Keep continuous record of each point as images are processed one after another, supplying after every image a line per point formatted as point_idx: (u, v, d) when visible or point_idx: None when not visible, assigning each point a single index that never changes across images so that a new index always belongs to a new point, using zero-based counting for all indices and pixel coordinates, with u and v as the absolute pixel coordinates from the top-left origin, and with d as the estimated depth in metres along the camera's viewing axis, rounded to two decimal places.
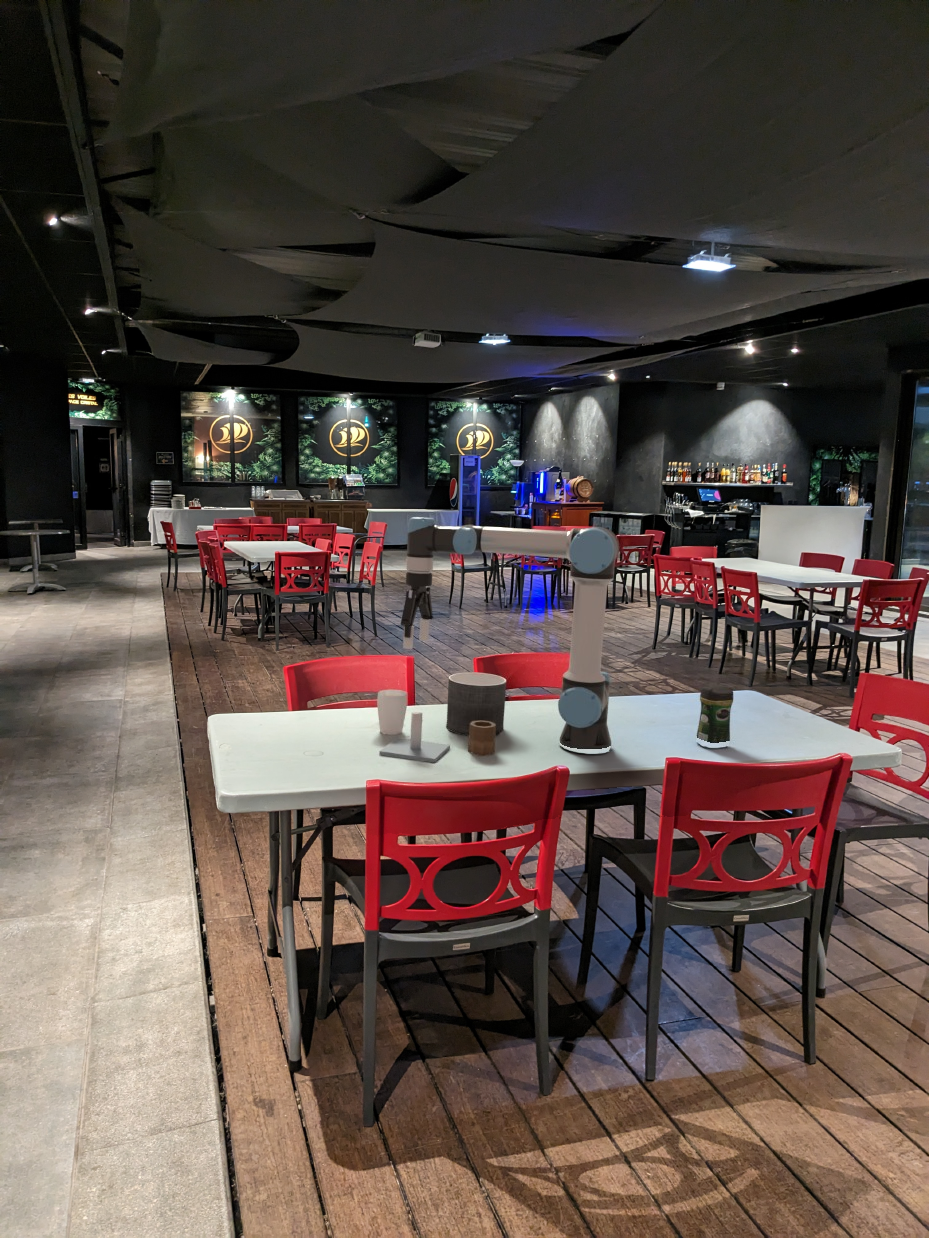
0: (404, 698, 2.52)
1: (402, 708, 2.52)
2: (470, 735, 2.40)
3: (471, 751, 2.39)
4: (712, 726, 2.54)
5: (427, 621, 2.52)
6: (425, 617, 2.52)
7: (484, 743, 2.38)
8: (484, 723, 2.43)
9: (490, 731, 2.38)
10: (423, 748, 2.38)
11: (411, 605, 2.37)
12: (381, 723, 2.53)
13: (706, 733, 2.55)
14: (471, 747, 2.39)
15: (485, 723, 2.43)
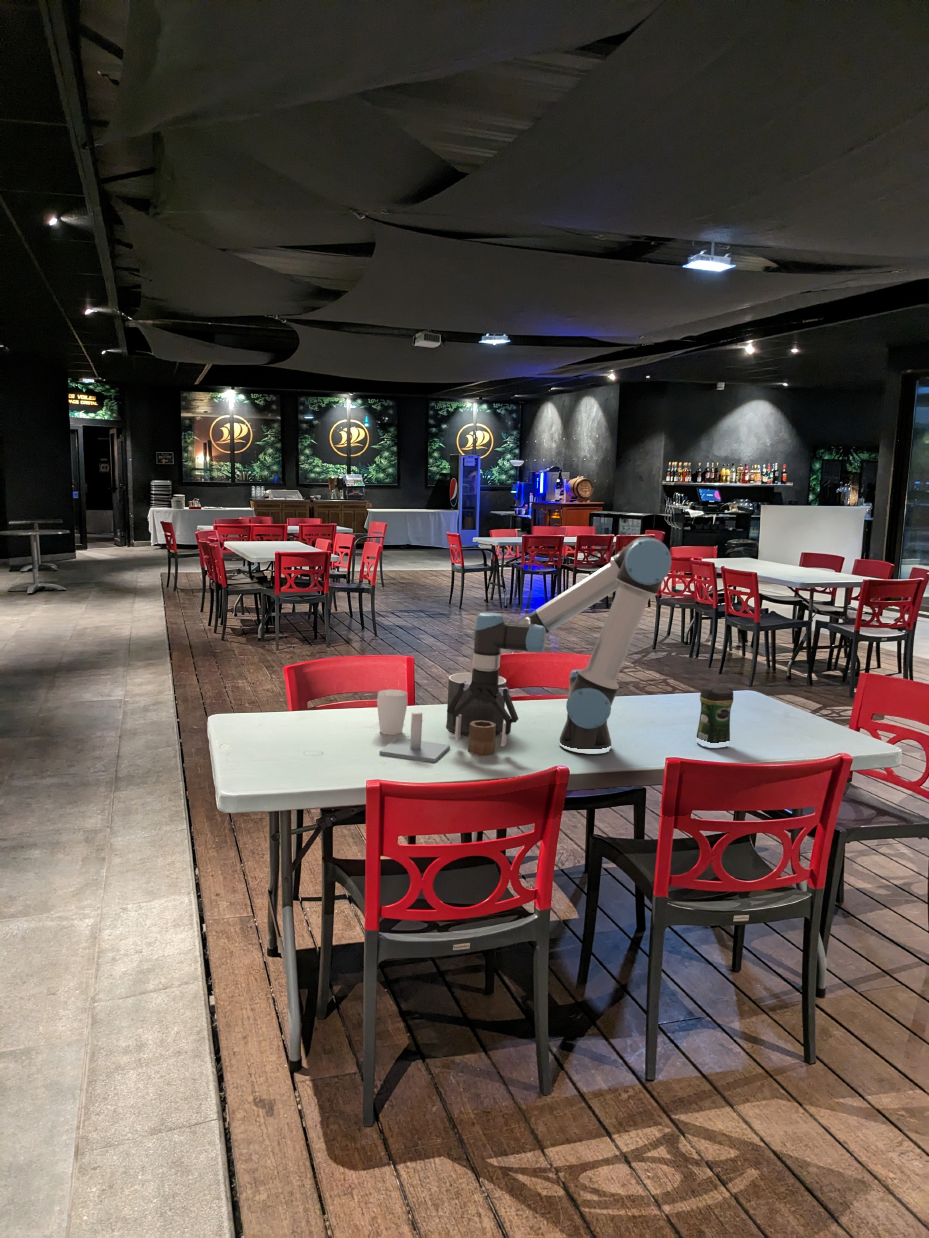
0: (404, 698, 2.52)
1: (402, 708, 2.52)
2: (470, 735, 2.40)
3: (471, 751, 2.39)
4: (712, 726, 2.54)
5: (503, 724, 2.38)
6: None
7: (484, 743, 2.38)
8: (484, 723, 2.43)
9: (490, 731, 2.38)
10: (423, 748, 2.38)
11: None
12: (381, 723, 2.53)
13: (706, 733, 2.55)
14: (471, 747, 2.39)
15: (485, 723, 2.43)
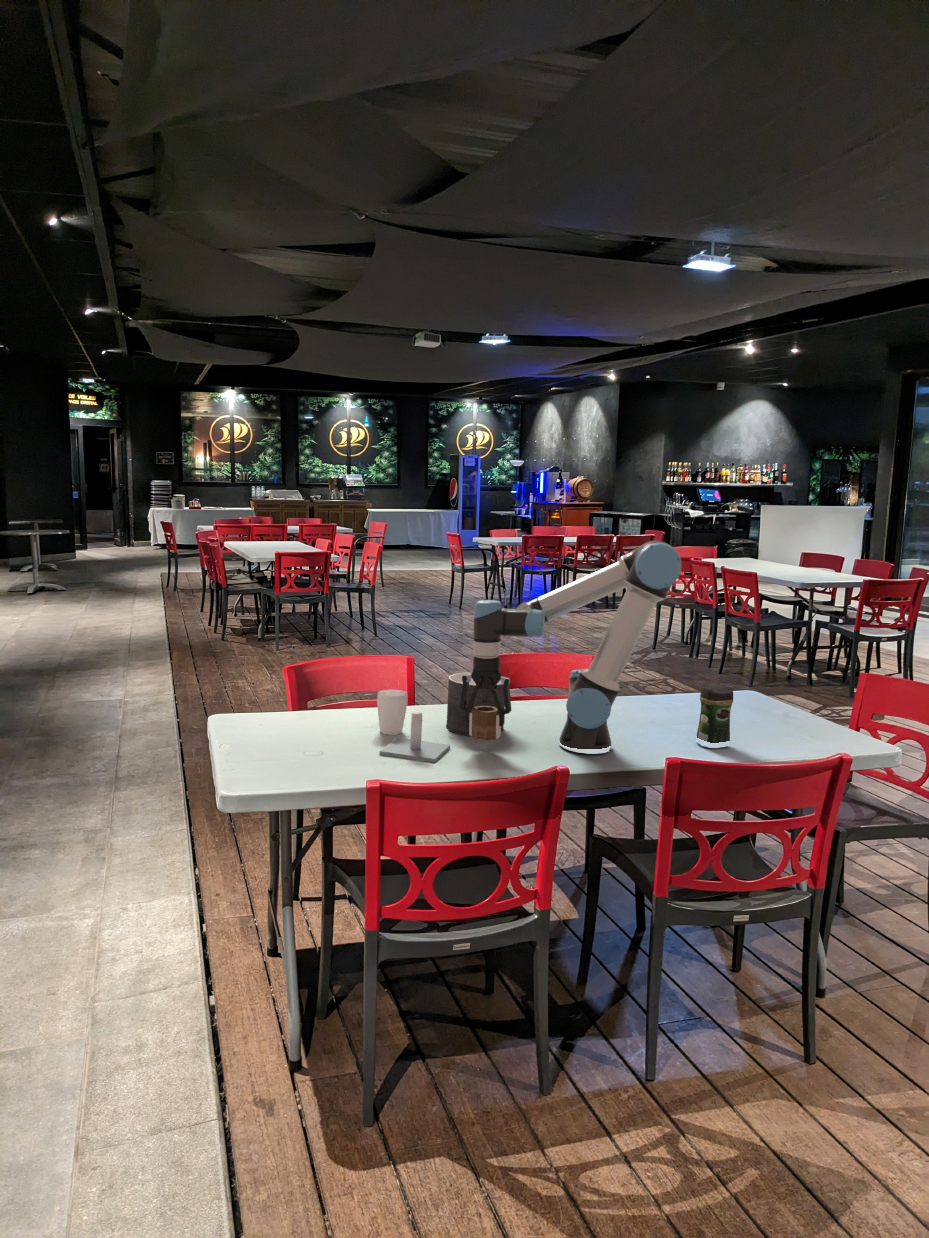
0: (404, 698, 2.52)
1: (402, 708, 2.52)
2: (473, 720, 2.39)
3: (475, 736, 2.39)
4: (712, 726, 2.54)
5: None
6: None
7: (488, 727, 2.37)
8: (487, 708, 2.42)
9: (493, 716, 2.37)
10: (423, 748, 2.38)
11: (462, 690, 2.40)
12: (381, 723, 2.53)
13: (706, 733, 2.55)
14: (474, 732, 2.39)
15: (488, 708, 2.42)
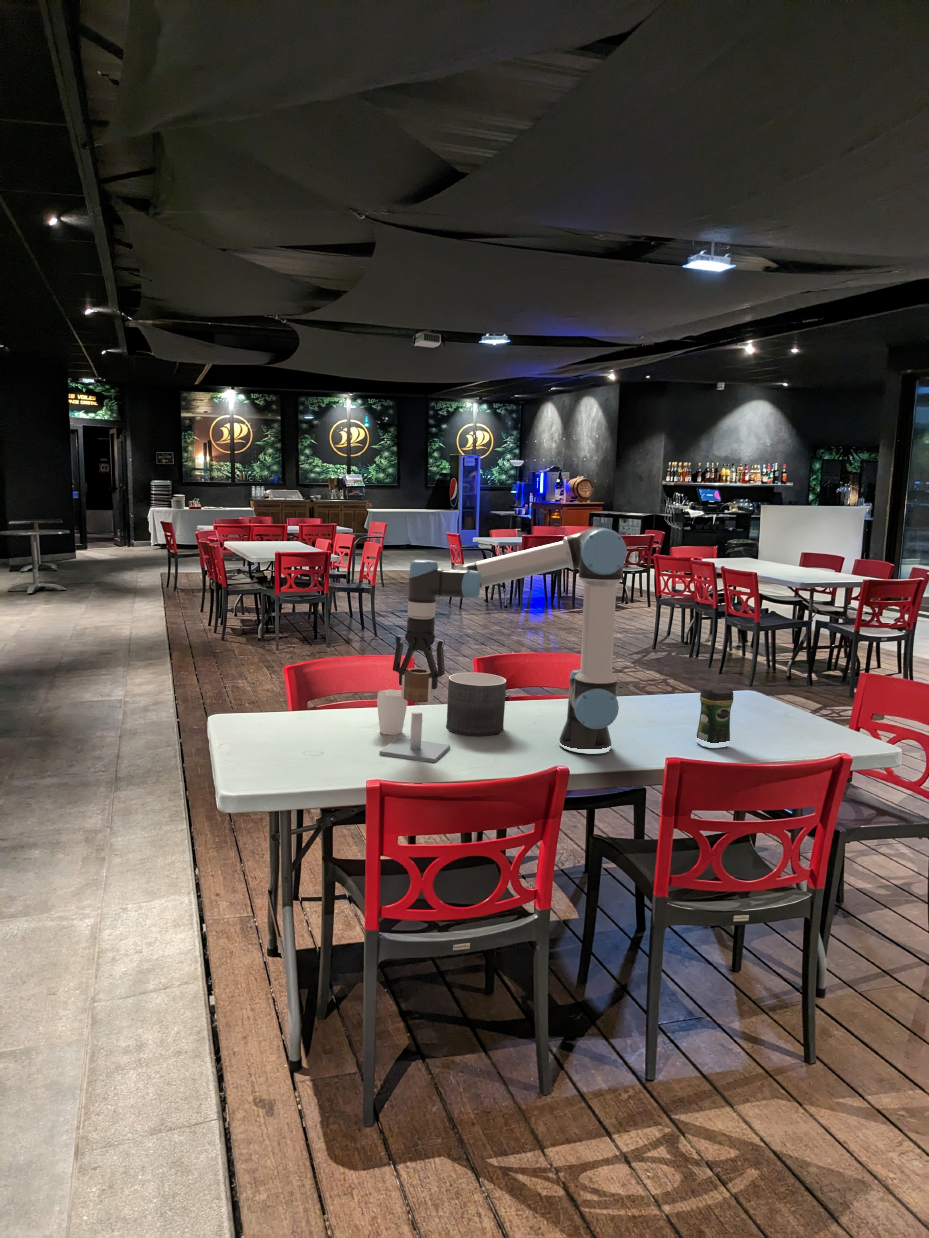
0: None
1: (402, 708, 2.52)
2: (405, 682, 2.34)
3: (406, 698, 2.34)
4: (712, 726, 2.54)
5: None
6: None
7: (419, 689, 2.32)
8: (420, 671, 2.38)
9: (425, 678, 2.33)
10: (423, 748, 2.38)
11: None
12: (381, 723, 2.53)
13: (706, 733, 2.55)
14: (406, 694, 2.34)
15: (421, 670, 2.37)
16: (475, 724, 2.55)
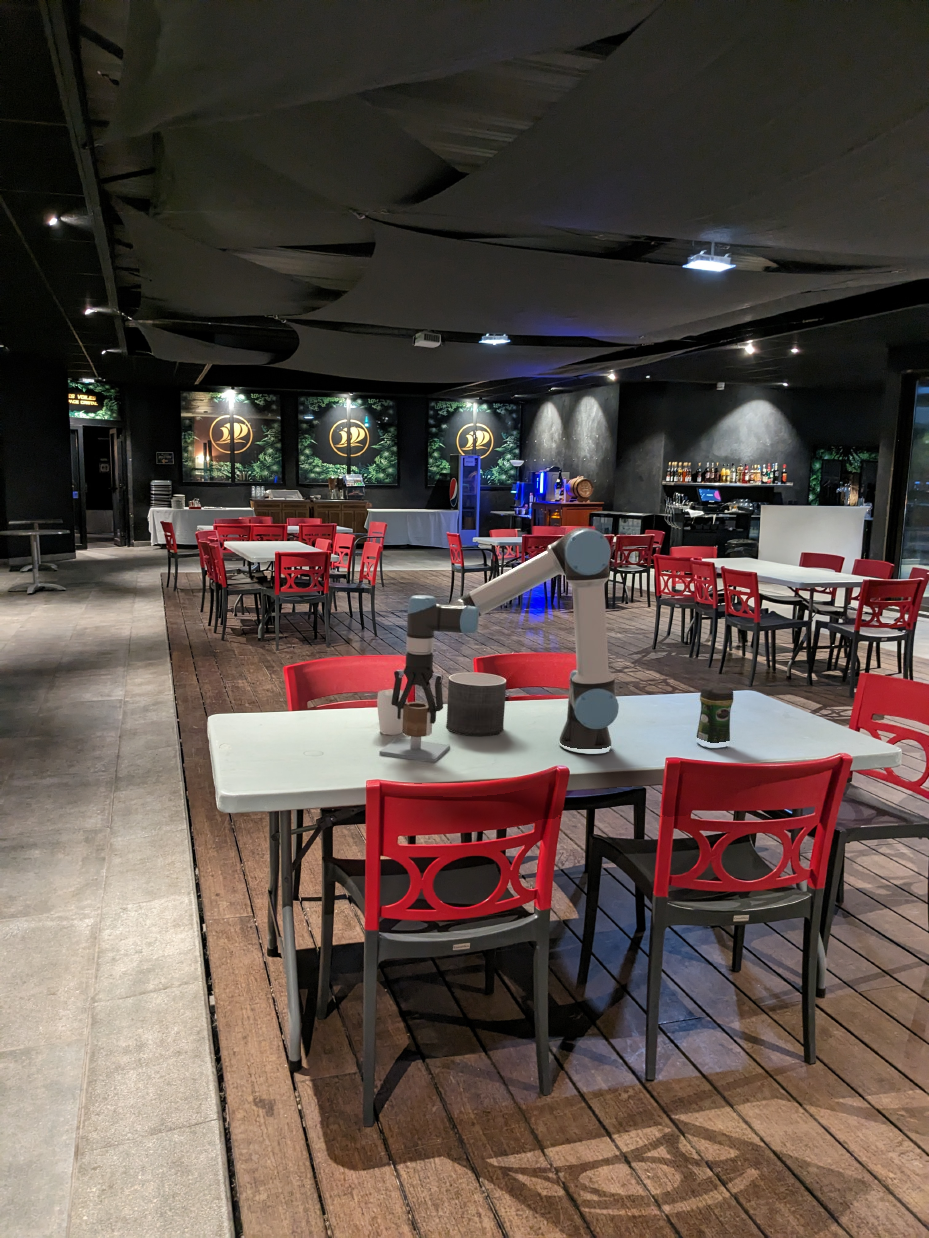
0: None
1: None
2: (404, 716, 2.36)
3: (405, 732, 2.36)
4: (712, 726, 2.54)
5: None
6: None
7: (418, 724, 2.34)
8: (419, 705, 2.39)
9: (424, 712, 2.34)
10: (423, 748, 2.38)
11: None
12: (381, 723, 2.53)
13: (706, 733, 2.55)
14: (405, 729, 2.36)
15: (420, 704, 2.39)
16: (475, 724, 2.55)
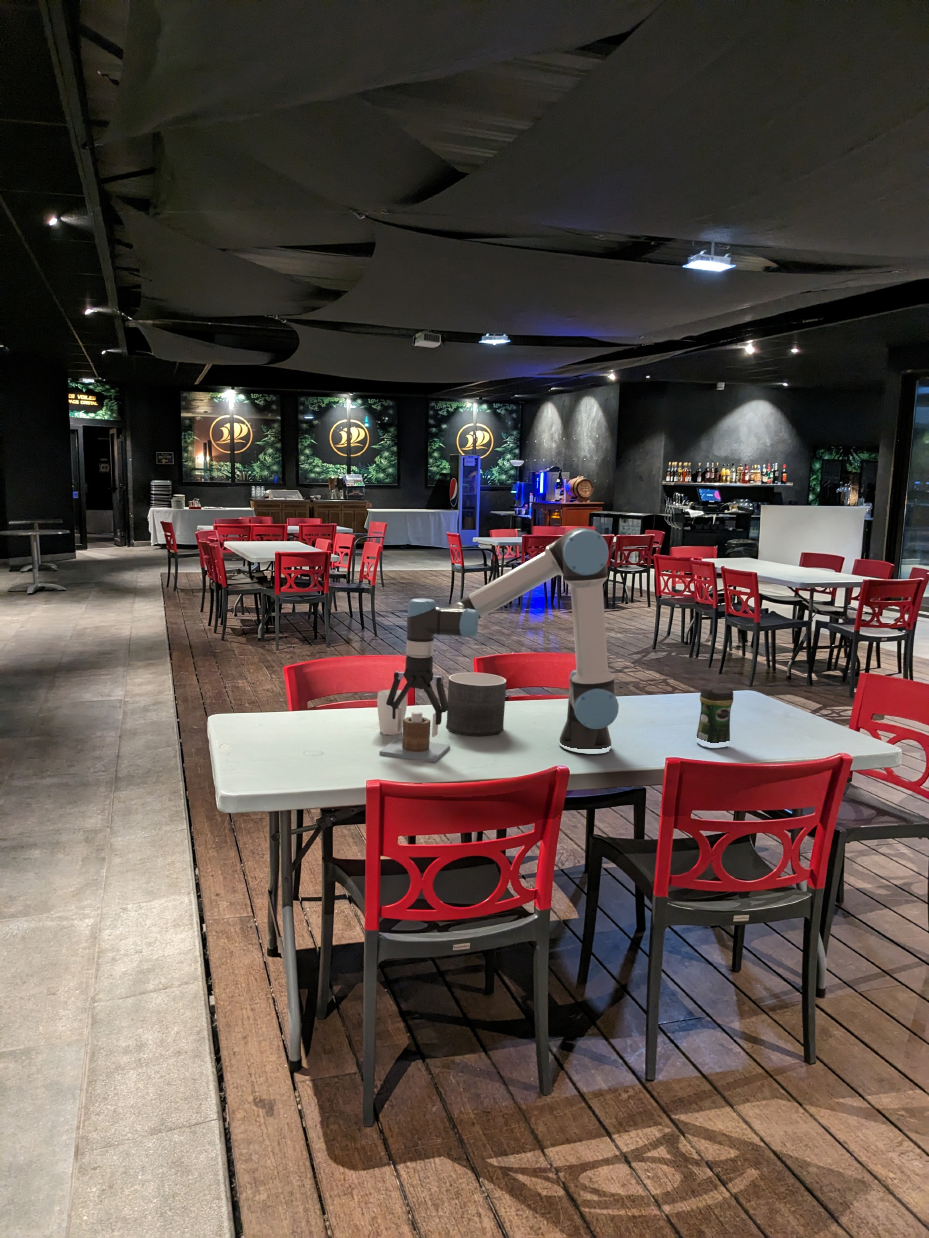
0: (404, 698, 2.52)
1: (402, 708, 2.52)
2: (404, 731, 2.37)
3: (405, 747, 2.36)
4: (712, 726, 2.54)
5: None
6: None
7: (418, 739, 2.34)
8: None
9: (424, 727, 2.35)
10: None
11: (392, 686, 2.37)
12: (381, 723, 2.53)
13: (706, 733, 2.55)
14: (405, 743, 2.36)
15: None
16: (475, 724, 2.55)
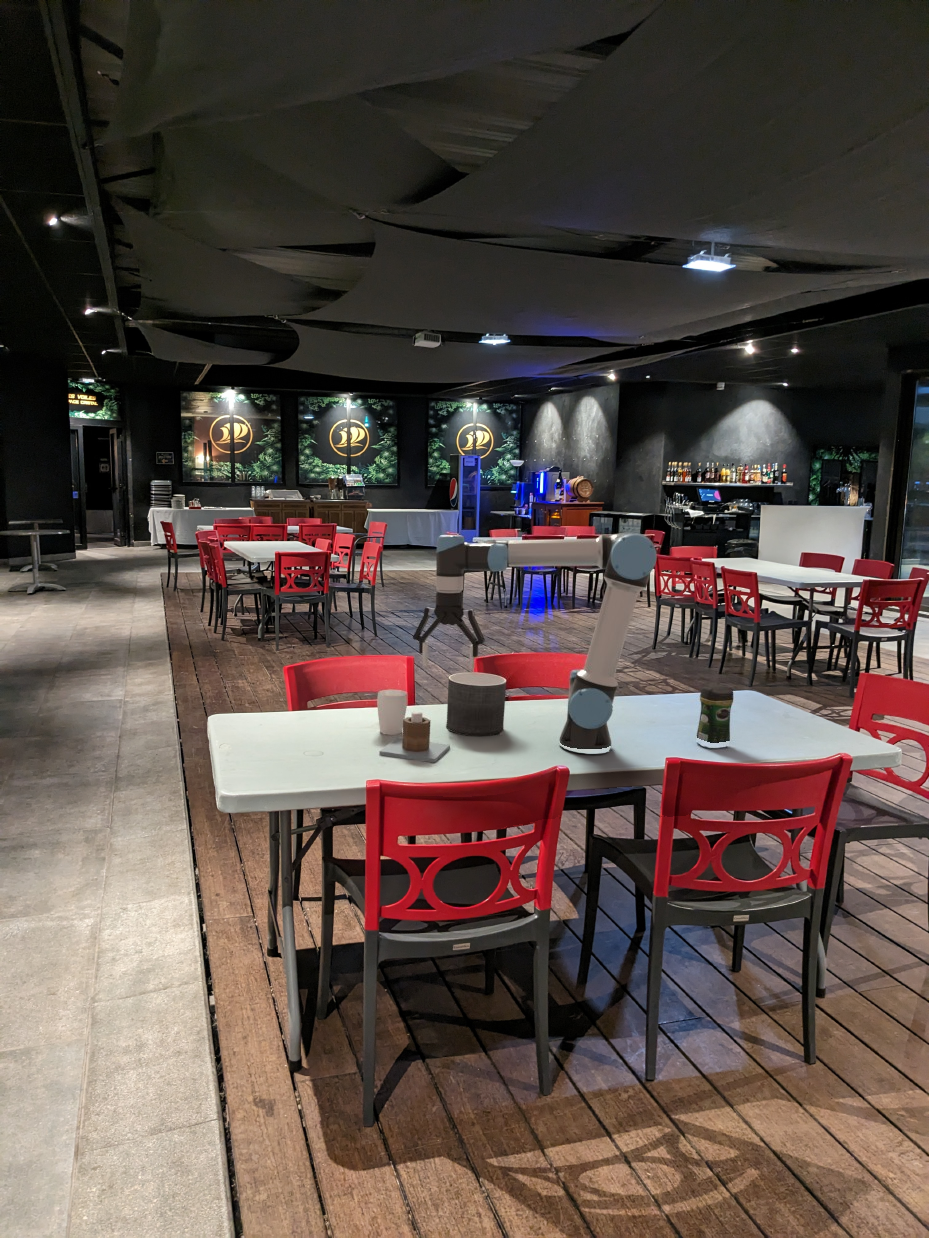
0: (404, 698, 2.52)
1: (402, 708, 2.52)
2: (404, 731, 2.37)
3: (405, 747, 2.36)
4: (712, 726, 2.54)
5: None
6: None
7: (418, 739, 2.34)
8: None
9: (424, 727, 2.35)
10: None
11: (421, 621, 2.38)
12: (381, 723, 2.53)
13: (706, 733, 2.55)
14: (405, 743, 2.36)
15: None
16: (475, 724, 2.55)
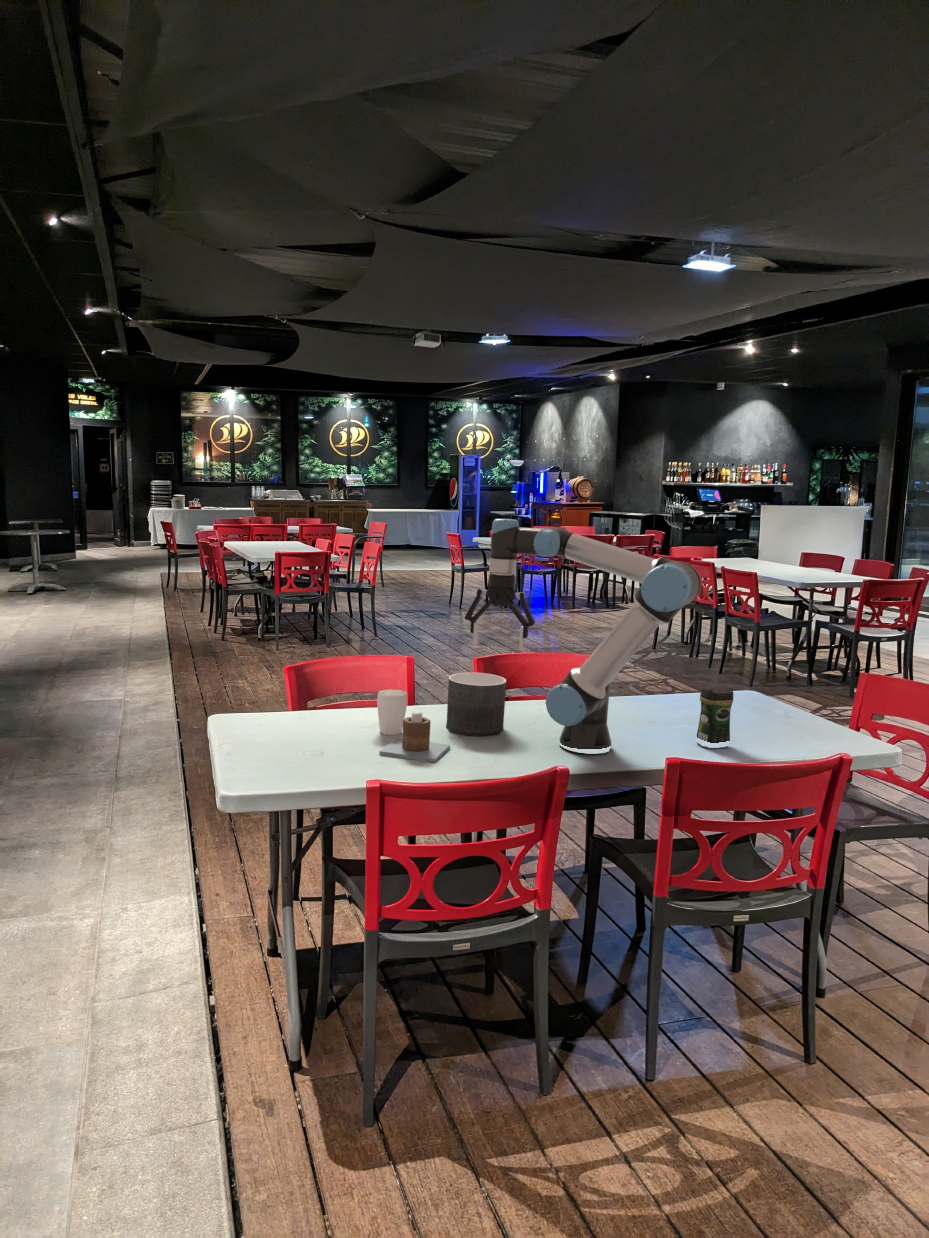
0: (404, 698, 2.52)
1: (402, 708, 2.52)
2: (404, 731, 2.37)
3: (405, 747, 2.36)
4: (712, 726, 2.54)
5: None
6: None
7: (418, 739, 2.34)
8: None
9: (424, 727, 2.35)
10: None
11: (473, 602, 2.45)
12: (381, 723, 2.53)
13: (706, 733, 2.55)
14: (405, 743, 2.36)
15: None
16: (475, 724, 2.55)
